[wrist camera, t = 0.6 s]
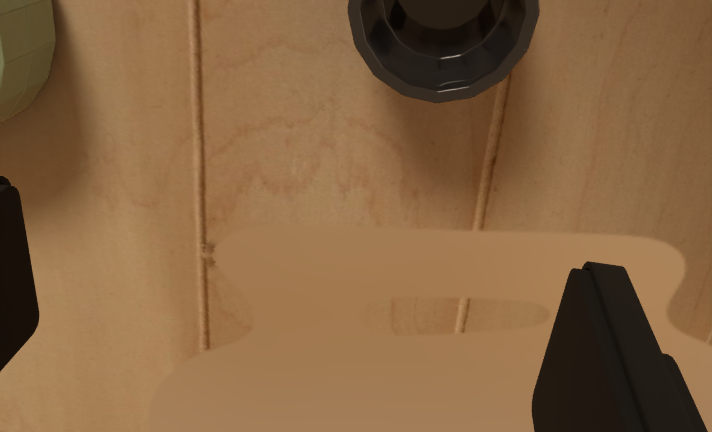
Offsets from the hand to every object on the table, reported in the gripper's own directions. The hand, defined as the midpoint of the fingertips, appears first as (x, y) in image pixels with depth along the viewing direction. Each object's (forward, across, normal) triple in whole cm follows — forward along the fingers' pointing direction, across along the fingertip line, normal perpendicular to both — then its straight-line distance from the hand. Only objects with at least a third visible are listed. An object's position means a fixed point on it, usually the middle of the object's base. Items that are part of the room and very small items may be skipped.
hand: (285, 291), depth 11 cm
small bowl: (+22, -2, -2) cm, 23 cm away
